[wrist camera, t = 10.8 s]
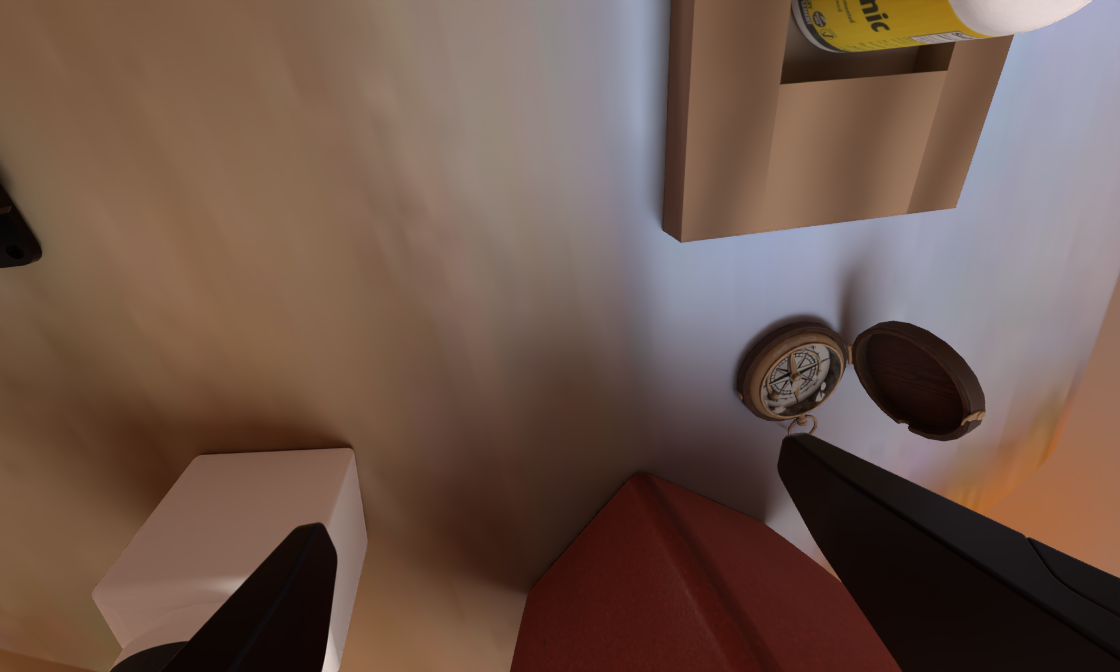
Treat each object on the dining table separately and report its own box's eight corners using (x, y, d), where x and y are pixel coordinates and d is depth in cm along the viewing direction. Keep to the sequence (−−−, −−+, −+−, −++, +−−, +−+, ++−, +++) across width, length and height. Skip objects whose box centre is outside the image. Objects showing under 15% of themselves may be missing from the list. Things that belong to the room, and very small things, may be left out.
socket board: (662, 230, 21) (680, 242, 19) (681, -270, 13) (713, -326, 12) (917, 199, 22) (955, 207, 20) (1053, -263, 15) (1130, -310, 13)
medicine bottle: (230, 553, 25) (54, 888, 14) (194, 451, 21) (-67, 787, 11) (369, 541, 26) (303, 838, 16) (355, 444, 23) (259, 735, 12)
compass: (724, 348, 24) (814, 436, 18) (861, 289, 24) (1001, 357, 18) (747, 449, 28) (828, 550, 22) (865, 399, 28) (982, 486, 22)
